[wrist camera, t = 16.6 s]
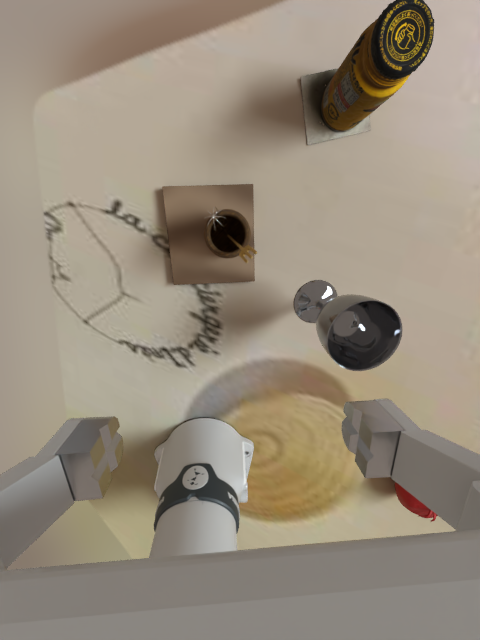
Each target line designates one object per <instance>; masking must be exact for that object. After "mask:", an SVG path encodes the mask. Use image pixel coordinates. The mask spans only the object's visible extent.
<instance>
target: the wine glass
mask: <svg viewBox="0 0 480 640" xmlns="http://www.w3.org/2000/svg"><path fill="white" fill-rule="evenodd" d="M294 308H295V311H296V314H297V315H298V316H299V317H300V318H301V319H302V320H303V321H306V322H309V323H316V330H317V334H318V337H319V340H320V342H321V344H322V346H323V347H324V349H325V350H326V352H327V353H328V354H329V356H330V357H331V358H332V359H333V360H334V361H335V362H336V363H337V364H338V365H340V366H341V367H343V368H345V369H348V370H352V371H364V370H369V369H372V368H375V367H377V366H379V365H381V364H382V363H384V362H385V361H386V360H388V359H389V358H390V357H391V356H392V354H393V353H394V352H395V350H396V349H397V347H398V345H399V343H400V340H401V337H402V323H401V319H400V317H399V315H398V313H397V312H396V311H395V310H394V309H393V308H392V307H391V306H389V305H387V304H385V303H383V302H381V301H379V300H377V299H374V298H370V297H367V296H362V295H353V294H351V295H341V296H338V297H337V293H336V290H335V288H334V287H333V286H332V285H331V284H330V283H328V282H326V281H322V280H314V281H310V282H308V283H306V284H305V285H303V286H302V287H301V288H300V289H299V291H298V292H297V294H296V296H295V300H294Z"/></svg>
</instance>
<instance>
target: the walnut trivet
mask: <svg viewBox="0 0 480 640" xmlns="http://www.w3.org/2000/svg"><path fill="white" fill-rule="evenodd" d="M162 189H163V197H164V206H165V214H166V223H167V231H168V240H169V248H170V257H171V265H172V274H173V282H174V285H180V284H203V283H226V282H250V281H255V276H254V253H253V252H252V251H250V250H249V251H248V253H249V254H251V255H252V256H253V258H252V259H250V258H249V257H248V256H247V255H245V256H244V257H245V258H246V259H247V260H248V263H245V262H244V260H243V259H242V258H241V257H240V256H237V257H234V258H221V257H218V256H217V255H215V254H214V253H212V252H211V251H210V249H209V248H208V247H207V245H206V242H205V239H204V228H205V224H206V222H207V220H208V219H209V216H211V214H213V210H214V213H215V212H217V210H218V211H219V210H222V209H232V210H235V211H237V212H239V213H241V214H242V215H243V216H244V217H245V218H246V220H247V221H248V223H249V226H250V230H251V238H250V242H249V246H251V247H252V248H253V249H254V210H253V184H242V185H205V186H167V187H162ZM214 207H216V208H217V209H216V208H214ZM207 210H208V211H209V212H210V213H211V214H210V213H209V212H208V211H207ZM205 217H207V218H205ZM204 218H205V219H204ZM205 220H206V221H205Z"/></svg>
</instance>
